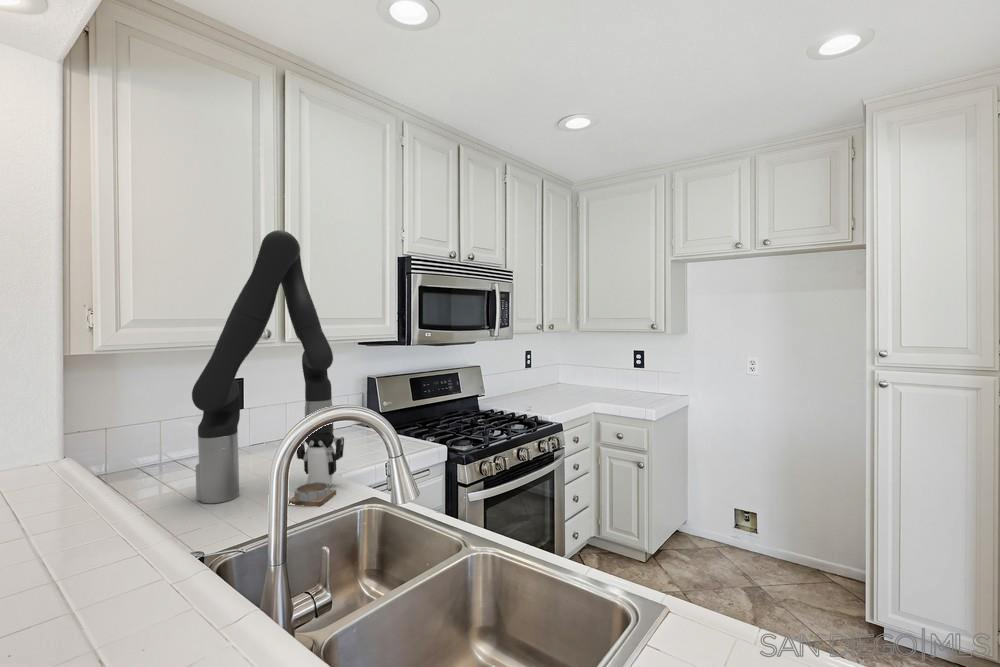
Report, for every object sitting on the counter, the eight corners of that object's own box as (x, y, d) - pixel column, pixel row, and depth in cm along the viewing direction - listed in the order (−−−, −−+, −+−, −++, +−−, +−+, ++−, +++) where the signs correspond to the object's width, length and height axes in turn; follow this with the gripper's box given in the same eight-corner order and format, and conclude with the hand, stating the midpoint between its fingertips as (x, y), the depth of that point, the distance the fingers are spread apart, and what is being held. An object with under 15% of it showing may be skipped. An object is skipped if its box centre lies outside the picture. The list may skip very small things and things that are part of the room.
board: (287, 505, 125) (287, 500, 125) (305, 493, 134) (305, 488, 134) (319, 506, 124) (319, 502, 124) (336, 494, 133) (335, 489, 133)
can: (324, 490, 135) (323, 448, 135) (303, 489, 137) (302, 447, 136) (336, 483, 142) (335, 442, 141) (316, 482, 143) (315, 441, 143)
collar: (288, 500, 125) (288, 493, 125) (305, 489, 134) (305, 481, 134) (319, 501, 124) (319, 494, 124) (335, 490, 133) (335, 482, 132)
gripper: (288, 417, 136) (289, 477, 136) (336, 418, 134) (338, 478, 134) (302, 412, 143) (303, 469, 144) (348, 413, 141) (350, 470, 142)
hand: (320, 473), depth 139 cm, fingers closed on can, 6 cm apart
